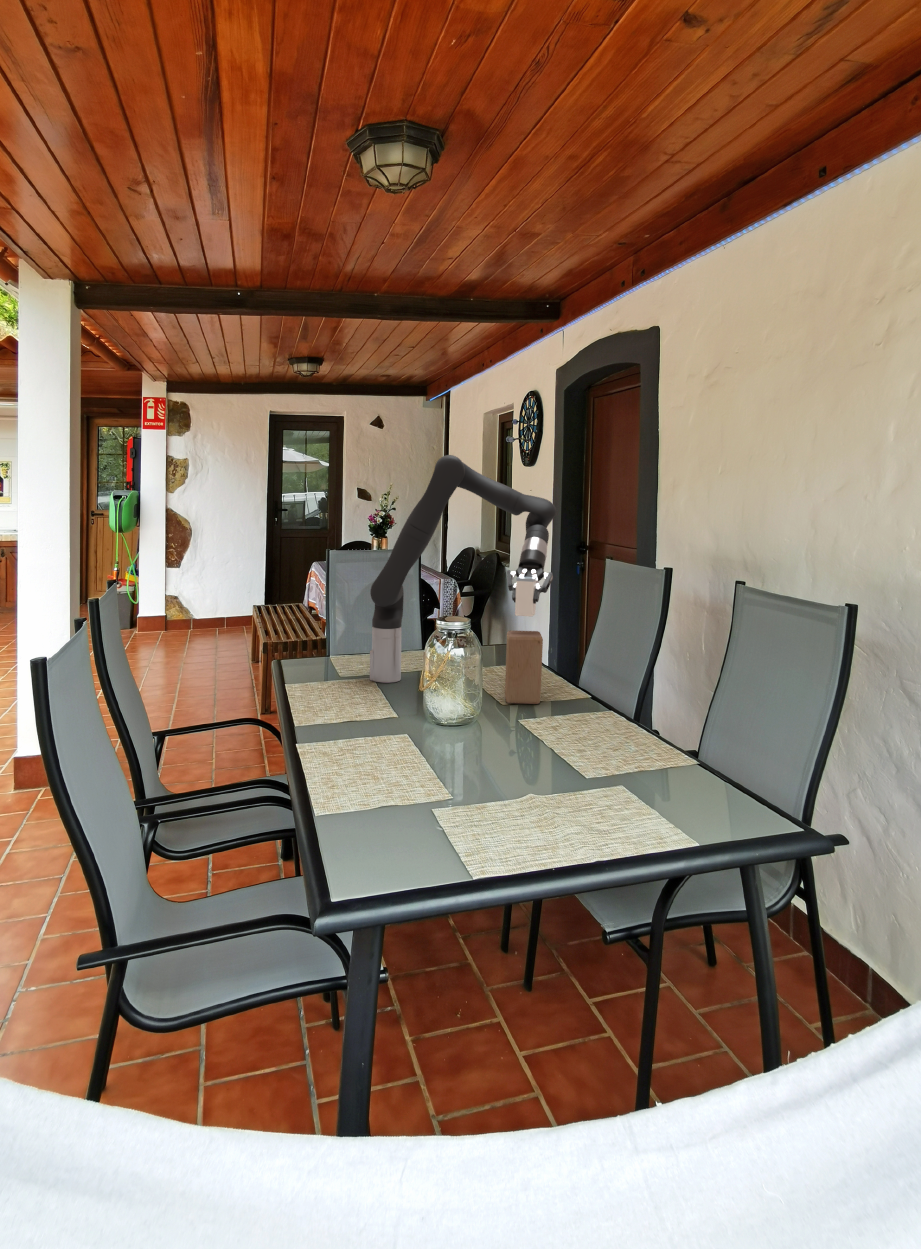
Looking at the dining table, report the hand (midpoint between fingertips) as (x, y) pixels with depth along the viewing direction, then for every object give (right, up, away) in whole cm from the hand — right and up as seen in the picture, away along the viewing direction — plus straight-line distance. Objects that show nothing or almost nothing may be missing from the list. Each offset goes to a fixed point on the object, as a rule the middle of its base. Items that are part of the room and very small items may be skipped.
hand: (524, 601), depth 232 cm
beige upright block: (0, -4, +2) cm, 5 cm away
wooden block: (0, -29, +7) cm, 30 cm away
